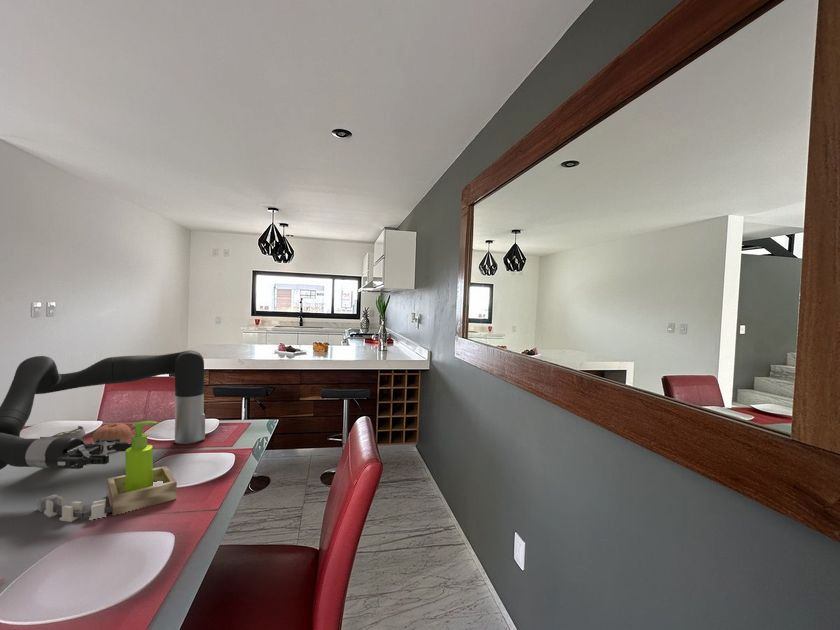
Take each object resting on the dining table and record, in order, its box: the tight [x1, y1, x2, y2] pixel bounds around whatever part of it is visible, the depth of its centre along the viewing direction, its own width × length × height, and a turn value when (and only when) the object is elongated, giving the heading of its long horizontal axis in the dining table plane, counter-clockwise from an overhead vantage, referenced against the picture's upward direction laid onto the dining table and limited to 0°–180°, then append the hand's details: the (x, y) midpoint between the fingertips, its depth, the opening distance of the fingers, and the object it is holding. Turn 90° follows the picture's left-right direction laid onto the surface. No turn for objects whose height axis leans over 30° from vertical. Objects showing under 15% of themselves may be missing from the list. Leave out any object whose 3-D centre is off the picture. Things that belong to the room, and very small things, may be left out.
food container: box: [39, 425, 86, 441], centre depth 126 cm, size 12×6×10 cm, turn 168°
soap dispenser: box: [124, 420, 158, 492], centre depth 106 cm, size 6×7×20 cm
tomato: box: [92, 422, 132, 443], centre depth 141 cm, size 11×11×8 cm
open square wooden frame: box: [107, 465, 178, 516], centre depth 106 cm, size 13×13×4 cm
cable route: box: [36, 493, 112, 523], centre depth 97 cm, size 6×19×3 cm, turn 79°
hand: (119, 453), depth 105 cm, fingers open, 8 cm apart
